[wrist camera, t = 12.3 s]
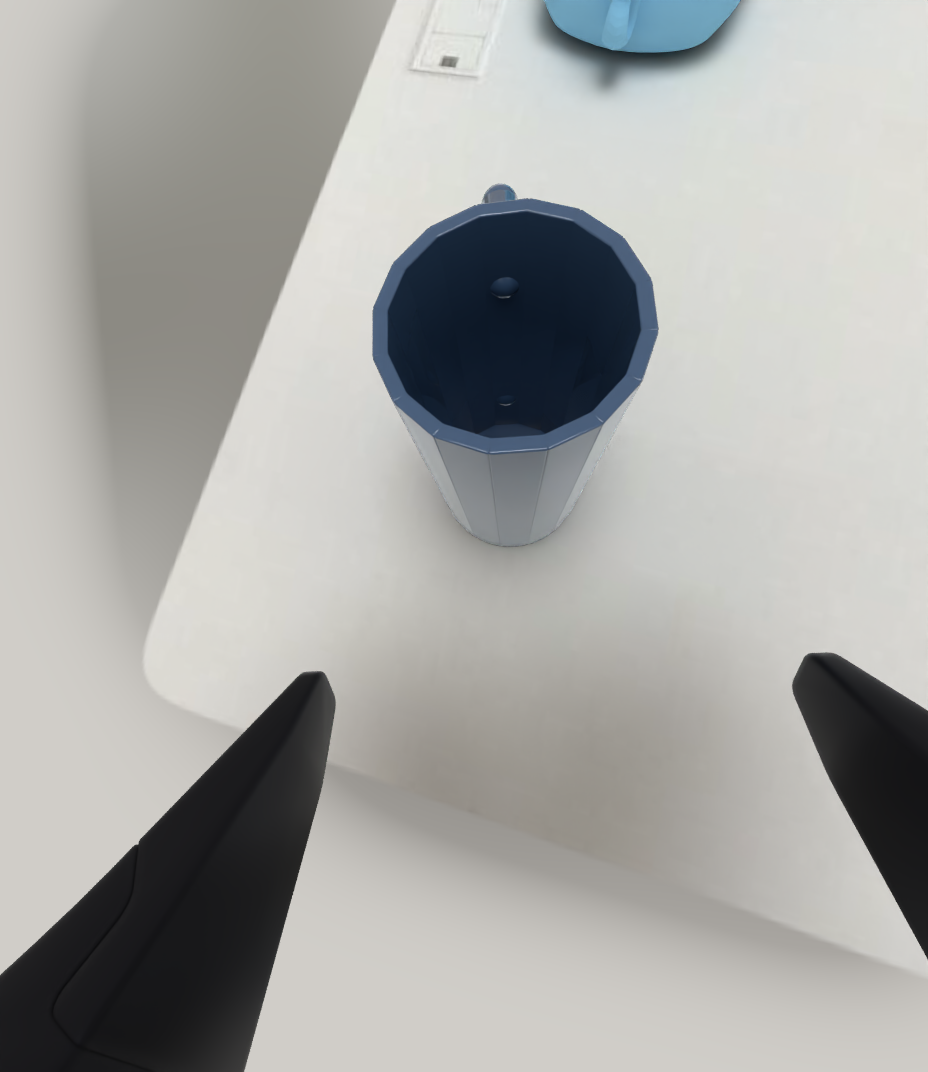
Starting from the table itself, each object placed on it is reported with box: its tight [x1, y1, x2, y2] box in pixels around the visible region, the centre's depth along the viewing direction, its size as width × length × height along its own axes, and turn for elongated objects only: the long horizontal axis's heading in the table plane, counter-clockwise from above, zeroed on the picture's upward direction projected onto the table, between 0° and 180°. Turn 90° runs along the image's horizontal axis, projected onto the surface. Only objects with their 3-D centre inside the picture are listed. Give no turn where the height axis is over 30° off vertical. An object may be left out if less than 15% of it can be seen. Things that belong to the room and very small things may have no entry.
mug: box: [372, 183, 659, 547], centre depth 17 cm, size 10×7×13 cm
